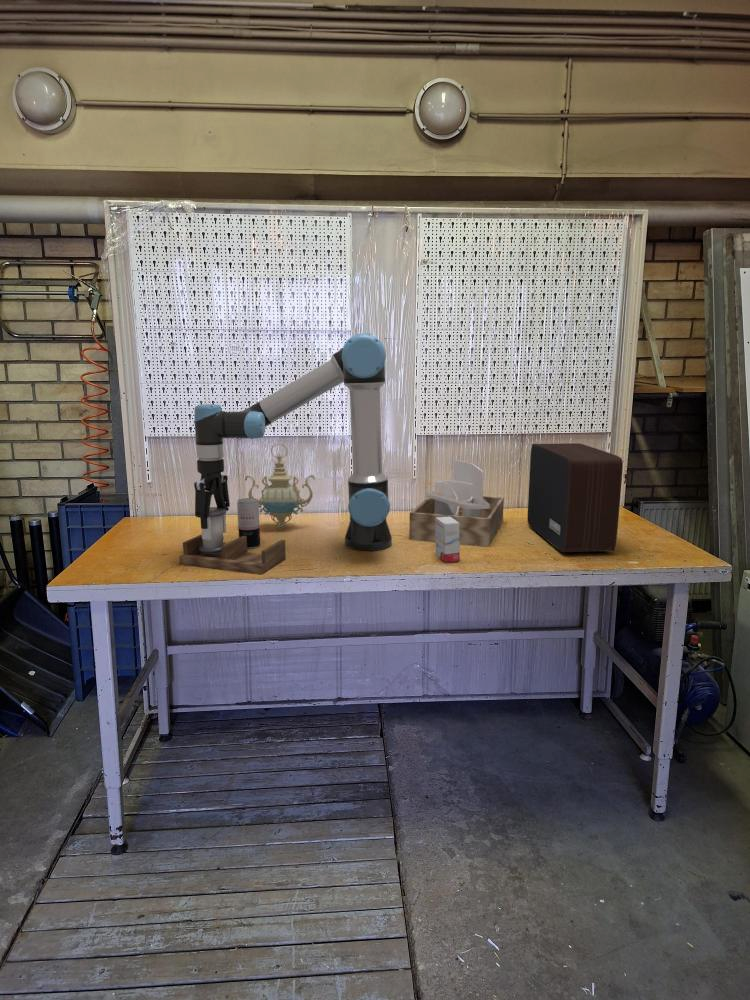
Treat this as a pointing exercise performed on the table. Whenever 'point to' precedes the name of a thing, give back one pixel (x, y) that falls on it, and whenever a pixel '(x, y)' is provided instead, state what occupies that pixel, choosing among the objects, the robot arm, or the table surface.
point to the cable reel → (214, 532)
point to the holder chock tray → (469, 527)
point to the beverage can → (249, 521)
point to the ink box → (447, 539)
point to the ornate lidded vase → (280, 493)
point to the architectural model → (460, 492)
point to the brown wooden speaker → (575, 496)
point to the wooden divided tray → (233, 556)
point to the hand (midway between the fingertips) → (214, 535)
